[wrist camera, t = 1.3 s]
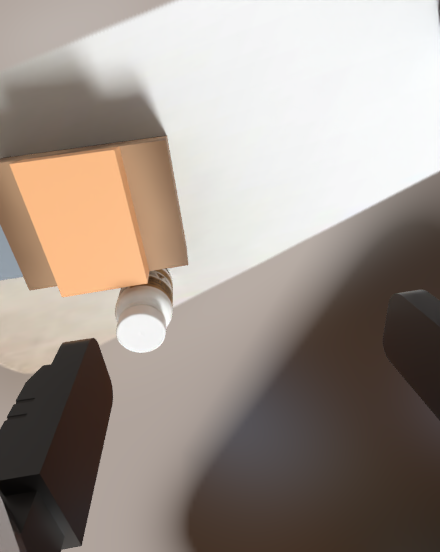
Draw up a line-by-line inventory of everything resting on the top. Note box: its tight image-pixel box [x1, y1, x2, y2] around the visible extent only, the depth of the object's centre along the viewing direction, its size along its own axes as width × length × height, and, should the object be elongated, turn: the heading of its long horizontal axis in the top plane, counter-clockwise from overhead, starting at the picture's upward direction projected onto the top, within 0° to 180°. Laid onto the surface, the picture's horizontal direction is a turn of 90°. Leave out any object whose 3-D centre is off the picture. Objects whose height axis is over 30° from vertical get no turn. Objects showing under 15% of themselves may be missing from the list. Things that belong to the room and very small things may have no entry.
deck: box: [0, 136, 188, 290], centre depth 25 cm, size 12×9×4 cm
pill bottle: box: [115, 269, 173, 352], centre depth 27 cm, size 4×4×8 cm
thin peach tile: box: [9, 146, 149, 297], centre depth 22 cm, size 6×9×2 cm, turn 7°
